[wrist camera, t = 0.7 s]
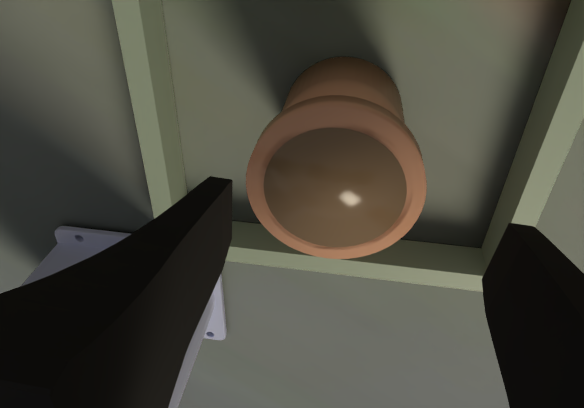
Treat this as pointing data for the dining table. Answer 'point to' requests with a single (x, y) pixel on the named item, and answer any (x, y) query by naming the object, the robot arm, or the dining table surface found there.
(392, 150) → the seedling pot
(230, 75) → the dining table surface
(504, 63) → the dining table surface
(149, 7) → the pale green square frame
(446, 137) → the dining table surface
